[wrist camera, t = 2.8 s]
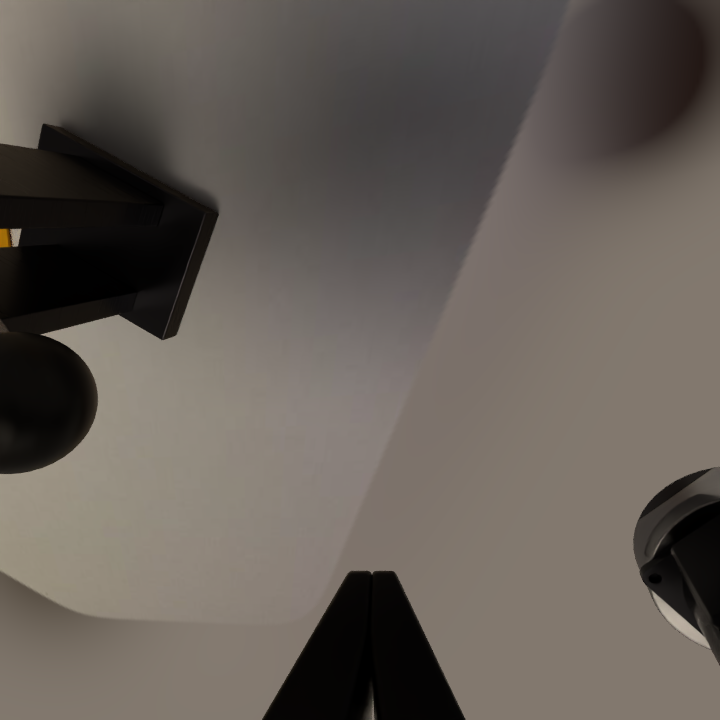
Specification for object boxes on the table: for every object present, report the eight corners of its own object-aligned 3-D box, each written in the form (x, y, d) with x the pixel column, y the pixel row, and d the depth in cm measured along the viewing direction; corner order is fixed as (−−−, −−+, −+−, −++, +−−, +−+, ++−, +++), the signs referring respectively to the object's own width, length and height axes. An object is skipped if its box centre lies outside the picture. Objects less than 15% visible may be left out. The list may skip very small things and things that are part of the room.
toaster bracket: (219, 213, 20) (-26, 207, 10) (176, 336, 22) (-60, 424, 13) (62, 127, 21) (-304, 46, 11) (34, 254, 23) (-292, 278, 13)
